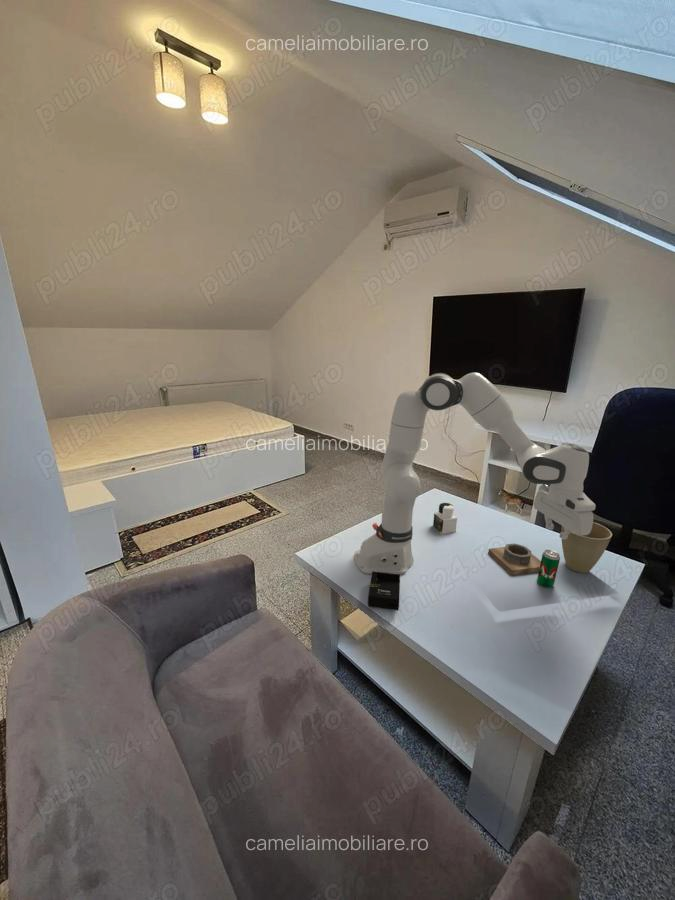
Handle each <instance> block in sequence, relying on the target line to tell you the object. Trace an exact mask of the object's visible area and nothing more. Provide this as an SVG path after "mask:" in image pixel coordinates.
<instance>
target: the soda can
mask: <svg viewBox="0 0 675 900" xmlns="http://www.w3.org/2000/svg"><path fill="white" fill-rule="evenodd" d="M560 560H561V557H560V554H559V552H557V551H556V550H553V549H545V550H544V551H543V552H542V555H541V560H540V561H541V564H540V568H539V572H537V578H536V581H537V582H538V584H539V585H541V587H544V588H553V587H554V586H555V582H556V578H557V574H558V573H557V572H558V569H559V566H560Z"/></svg>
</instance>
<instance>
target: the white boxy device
mask: <svg viewBox="0 0 675 900" xmlns="http://www.w3.org/2000/svg"><path fill="white" fill-rule="evenodd" d="M454 510H455V507H454V505H453V504H451V503H448V502H441V503H440V504H438V512H434V514H433V522H432V526H433V528H434V529H435V530H436V531H437V532H438V533H440V534H441V535H447V534H452V533H456V532H457V531H456V530H457V523H458V517H457V516H456V515H454Z"/></svg>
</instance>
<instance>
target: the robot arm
mask: <svg viewBox="0 0 675 900" xmlns="http://www.w3.org/2000/svg"><path fill="white" fill-rule="evenodd" d="M456 405H460V406H462V407H463V408H464V410H465V411H466V412H467V413H468V414H469V415H470V416H471V418H472V419H473V420H474V421H475V422H476V423H477V424H478V425H479V426H481V428H483V429H484V430H485V431H491V432H495V433H496V434H497V435H499V436H500V437H501V438H502V439H503V441H504V442H505V443H506V444H507V445H508V447H510V449H511V450H512V451H513V454H514V456H515V459H516V463H517V465H518V467H519V468H520V470H521V472H522V475H523V477H524V478H525V479H526V480H527V481H529V482H530V483H532V484H536V485H540V486H539V487H538V491H537V492H536V495H535V498H534V501H533V507H534V509H535V510H536V511H538V512H540V513H541V514H543V515H544V520H545V529H547V530H548V531H553V530H554V527H555V525H554V524H553V521H554V522H555V523H557V524H559V525H560V526H561V525H562V526H564V530H565V531H564V532H559V538H561V540H562V539H563V540H565V539H567V538H568V534H570V533H571V532H573V533H575V534H576V535H578V536H583V535H588V534H589V533H590V532H591V529H592V525H593V522H594V517H595V516H594V513H593V511H595V510H596V507H597V506H596V503H594V502H593V501H592V500H591V498H589V497H588V496H587V495H586V494H585V492H584V481H585V479H586V478H587V476H588V475H587V474H588V469H589V464H590V454H589V452H588V451H587V450H586V449H585V448H584V447H582V446H579V445H577V444H574V443H569V442H568V443H567V442H564V443H561V444H560V445H558V446H555V447H552V448H549V449H547V448H546V447H544V446H543V445H541V444H540V443H537V442H536V441H533V440H532V439H530V438H529V437H528V435H527V434H526V433H525V432H524V431H523V430H522V428H521V427H520V426H519V424H518V423H517V422H516V420H515V418H514V412H513V409H512V408H511V406H510V404H509V402H508V400H507V399H506V398H505V396H504V395H503V394H502V392H500V390H499V389H498V388H497V387H496V386H495V385H494V384H493V383H492V382H491V381H490V380H489V379H487V378H486V377H485V376H484V375H483V374H481V373H480V372H469V373H467V374H465V375H463V376H462V377H461V378H459V379H454V378H452V377H451V376H450V375H449V374H447V373H443V372H438V373H433V374H431V375H429V376H428V377H427V378H426V379H425V380H424V382H423V383H422V385H421V386H420V388H418V390H416V391H415V390H414V391H412V390H410V391H409V390H408V391H403V392H402V393H400V394H399V395H398V396H397V398H396V401H395V404H394V407H393V411H392V415H391V421H390V429H389V435H388V441H387V442H388V443H387V447H386V449H385V452H384V455H383V459H382V461H381V463H380V469H379V470H380V471H379V472H380V476H381V479H382V481H383V482H384V485H385V497H384V501H383V503H382V506H381V507H382V508H381V523H380V524H379V525H378V524H377V522H375V523H373V524H372V526H371V527H372V528H373V530H374V531H375V533H374V534H372V535H371V536H369V537H368V538H366V539H364V540H363V541H362V543H361V545H360V549H357V550H356V551H354V555H353V557H354V562H355V566H356V567H357V568H358V570H359V571H360V572H361V573H363V574H366V575H367V574H368V575H369V574H371V575H372V571H374V572H383V573H391V574H400V575H404V574H405V575H406V573H407V571H408V569H409V568H410V567H412V566H413V564H414V556H413V551H412V540H413V533H414V532H413V525H412V524H413V513H414V506H415V502H416V500H417V498H418V497H419V496H420V494H421V491H422V486H421V480H420V478H419V476H418V474H417V473H416V472H415V470H414V468H413V464H414V460H415V457H416V456H417V453H418V452H419V450H420V449H421V446H422V439H423V435H424V427H425V423H426V422H425V421H426V417H427V414H428V412H429V411H430V410H432V411H444V410H447V409H450V408H451V407H454V406H456Z"/></svg>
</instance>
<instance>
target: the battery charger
mask: <svg viewBox="0 0 675 900" xmlns="http://www.w3.org/2000/svg"><path fill="white" fill-rule="evenodd" d="M400 588H401V574H391V573H383V572H374V571H372V574H371V577H370V584H369V590H368V597H367V606H368V607H371V608H376V609H384V610H390V611H391V610H392V611H399V608H400V590H401V589H400Z"/></svg>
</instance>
